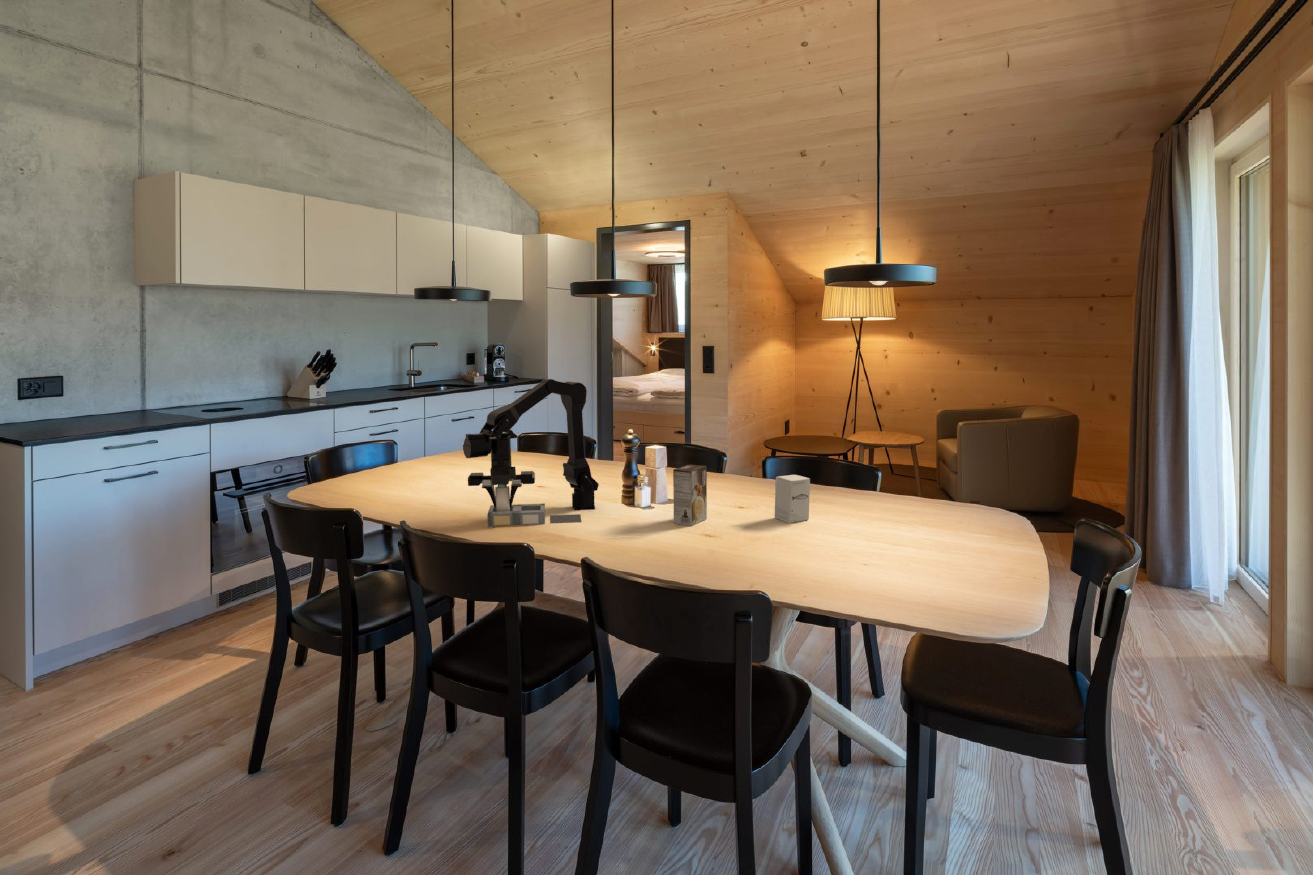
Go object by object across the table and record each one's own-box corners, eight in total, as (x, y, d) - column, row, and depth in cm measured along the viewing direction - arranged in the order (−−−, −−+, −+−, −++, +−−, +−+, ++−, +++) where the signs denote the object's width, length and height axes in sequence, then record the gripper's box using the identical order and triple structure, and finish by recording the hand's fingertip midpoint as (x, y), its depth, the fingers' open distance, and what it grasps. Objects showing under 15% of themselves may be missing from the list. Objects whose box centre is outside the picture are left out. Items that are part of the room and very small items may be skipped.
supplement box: (789, 523, 212) (790, 480, 210) (773, 517, 219) (774, 476, 217) (809, 520, 215) (810, 478, 214) (793, 514, 222) (794, 473, 220)
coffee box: (688, 516, 221) (688, 463, 218) (707, 519, 217) (707, 465, 215) (672, 523, 213) (672, 468, 210) (692, 526, 209) (692, 471, 207)
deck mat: (580, 515, 222) (580, 514, 222) (581, 523, 213) (581, 522, 213) (550, 516, 221) (550, 515, 221) (550, 524, 212) (550, 523, 212)
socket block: (545, 516, 221) (544, 503, 221) (544, 525, 211) (544, 512, 210) (490, 518, 219) (490, 505, 218) (487, 527, 209) (487, 514, 208)
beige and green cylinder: (510, 512, 216) (509, 482, 215) (509, 515, 212) (508, 485, 211) (496, 512, 216) (495, 482, 214) (495, 516, 212) (494, 485, 211)
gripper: (464, 460, 202) (466, 515, 205) (533, 458, 205) (534, 513, 207) (468, 453, 213) (471, 506, 216) (534, 451, 216) (535, 503, 218)
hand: (503, 507), depth 214 cm, fingers closed on beige and green cylinder, 4 cm apart
